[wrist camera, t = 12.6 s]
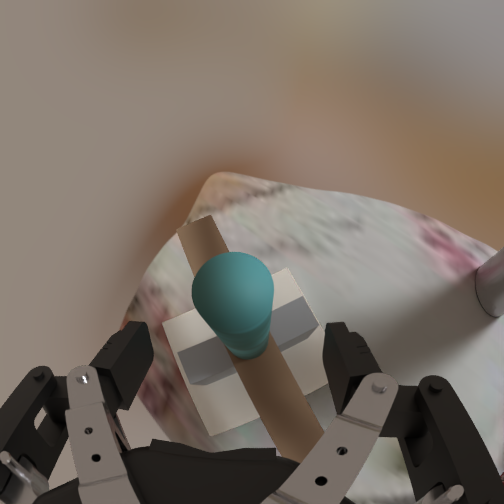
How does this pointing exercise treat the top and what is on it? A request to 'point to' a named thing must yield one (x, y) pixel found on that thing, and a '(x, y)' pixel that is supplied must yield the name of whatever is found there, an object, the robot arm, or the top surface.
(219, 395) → the ridge stand
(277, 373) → the teal peg on base
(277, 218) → the top surface
